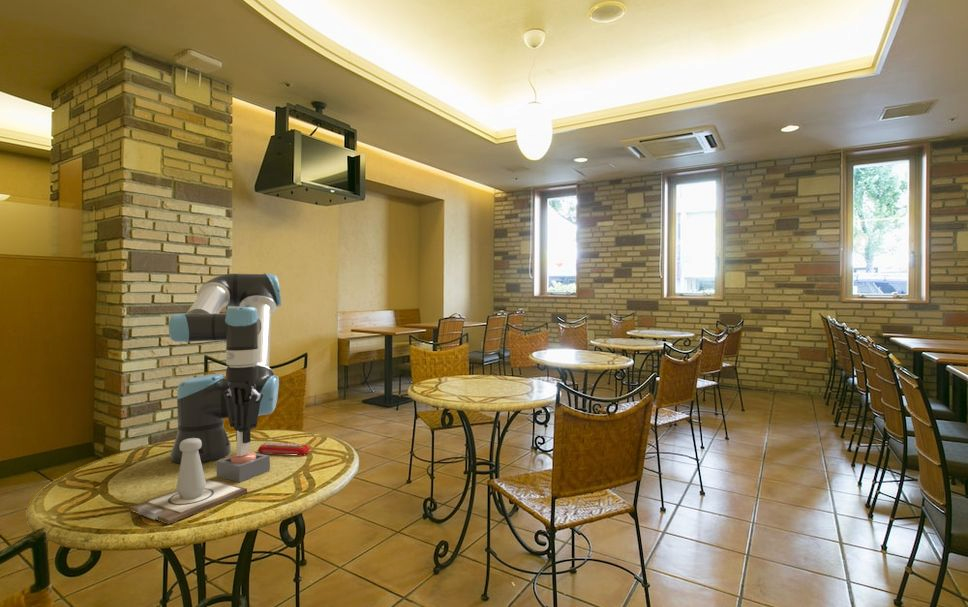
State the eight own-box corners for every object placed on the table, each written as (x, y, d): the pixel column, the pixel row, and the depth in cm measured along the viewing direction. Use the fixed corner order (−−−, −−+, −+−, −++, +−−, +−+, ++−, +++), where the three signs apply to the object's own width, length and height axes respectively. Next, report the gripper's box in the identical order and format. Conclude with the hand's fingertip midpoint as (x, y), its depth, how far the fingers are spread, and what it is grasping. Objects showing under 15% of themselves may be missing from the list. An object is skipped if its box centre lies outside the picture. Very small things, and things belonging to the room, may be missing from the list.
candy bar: (255, 454, 144) (255, 444, 144) (263, 450, 147) (262, 441, 147) (305, 457, 141) (305, 447, 141) (312, 453, 145) (312, 443, 145)
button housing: (216, 476, 126) (216, 461, 126) (247, 465, 134) (247, 451, 134) (239, 482, 122) (239, 466, 122) (269, 470, 130) (269, 455, 130)
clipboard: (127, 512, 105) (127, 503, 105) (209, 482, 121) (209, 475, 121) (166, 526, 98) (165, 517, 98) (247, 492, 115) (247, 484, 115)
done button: (225, 468, 126) (225, 457, 126) (246, 461, 132) (246, 450, 132) (240, 472, 124) (240, 460, 124) (261, 464, 129) (261, 453, 129)
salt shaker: (212, 492, 112) (211, 437, 112) (189, 503, 107) (188, 444, 106) (193, 489, 114) (192, 434, 114) (170, 499, 108) (169, 441, 108)
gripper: (213, 365, 127) (214, 455, 127) (246, 368, 121) (247, 462, 121) (238, 362, 133) (239, 447, 134) (271, 365, 127) (272, 453, 128)
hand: (243, 454), depth 127 cm, fingers closed
